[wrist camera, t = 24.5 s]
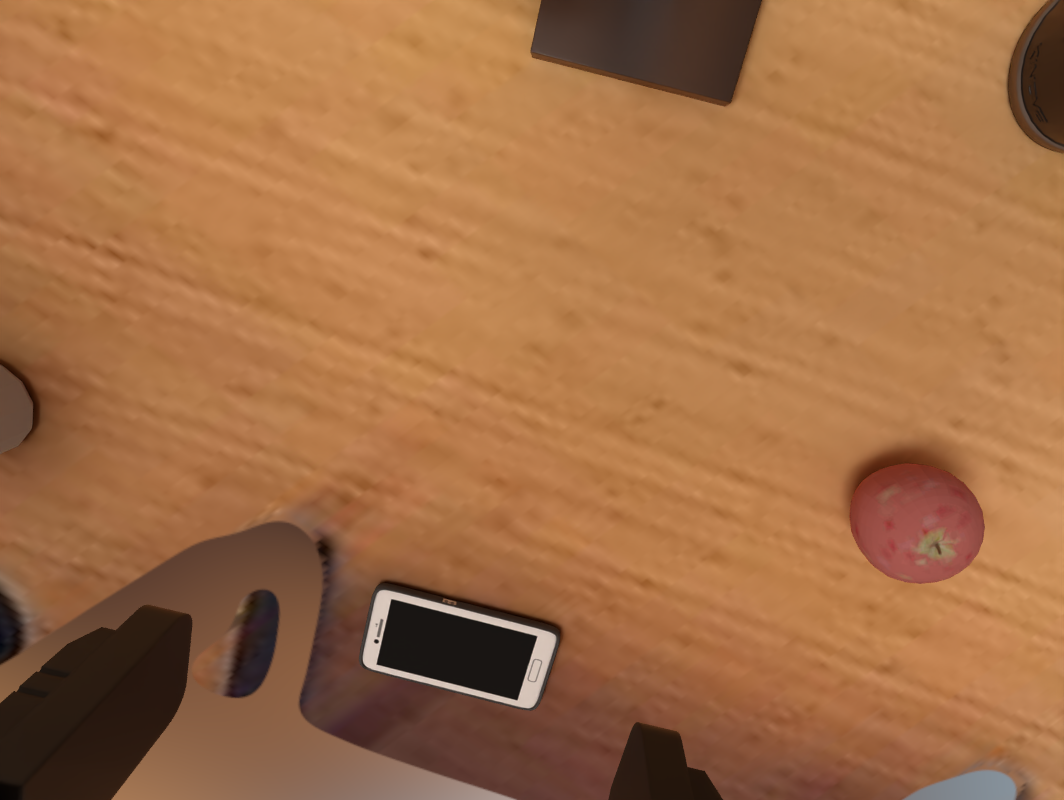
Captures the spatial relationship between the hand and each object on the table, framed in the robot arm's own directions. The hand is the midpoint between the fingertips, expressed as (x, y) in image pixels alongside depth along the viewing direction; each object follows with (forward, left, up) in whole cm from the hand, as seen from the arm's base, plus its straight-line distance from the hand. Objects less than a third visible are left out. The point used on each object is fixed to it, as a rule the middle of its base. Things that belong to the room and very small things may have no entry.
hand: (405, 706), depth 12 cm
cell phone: (+12, +22, -34) cm, 42 cm away
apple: (-21, +18, -34) cm, 44 cm away
